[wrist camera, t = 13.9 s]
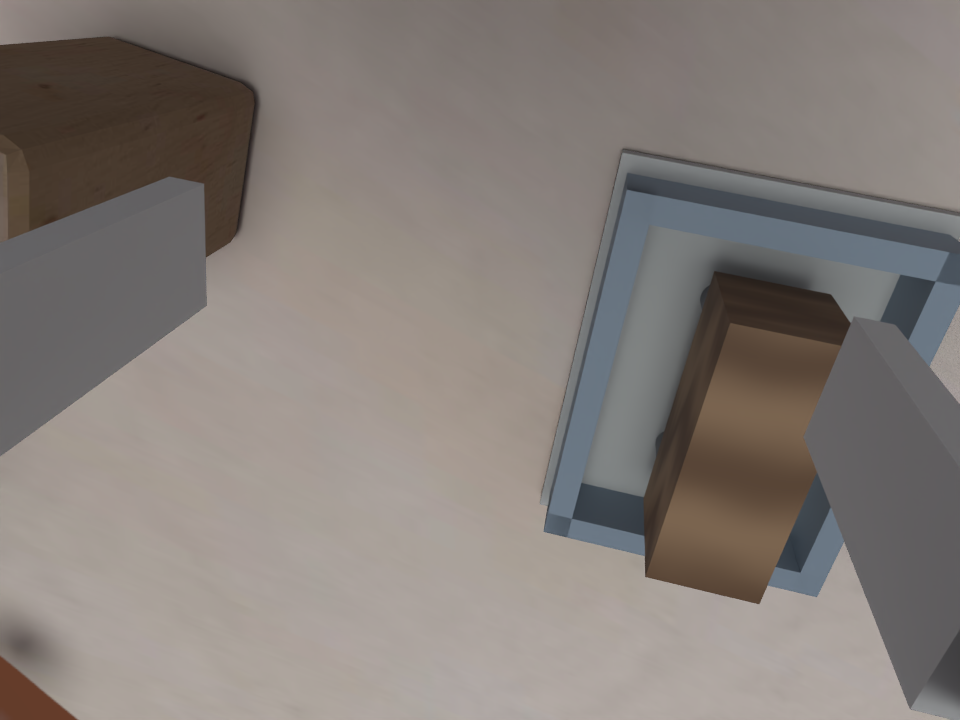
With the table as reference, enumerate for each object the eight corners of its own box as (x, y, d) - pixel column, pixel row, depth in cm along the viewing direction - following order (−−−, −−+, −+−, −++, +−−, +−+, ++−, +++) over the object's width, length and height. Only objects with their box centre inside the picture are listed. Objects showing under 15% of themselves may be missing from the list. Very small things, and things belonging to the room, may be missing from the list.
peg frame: (622, 149, 41) (621, 167, 36) (960, 213, 39) (1002, 240, 35) (541, 495, 52) (532, 541, 47) (802, 556, 50) (819, 611, 46)
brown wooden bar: (741, 520, 45) (759, 604, 39) (643, 498, 46) (645, 576, 40) (831, 294, 38) (870, 351, 32) (714, 270, 39) (730, 323, 33)
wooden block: (264, 86, 43) (8, 149, 25) (241, 243, 48) (11, 390, 30) (103, 30, 43) (-261, 54, 26) (95, 192, 48) (-217, 307, 30)
